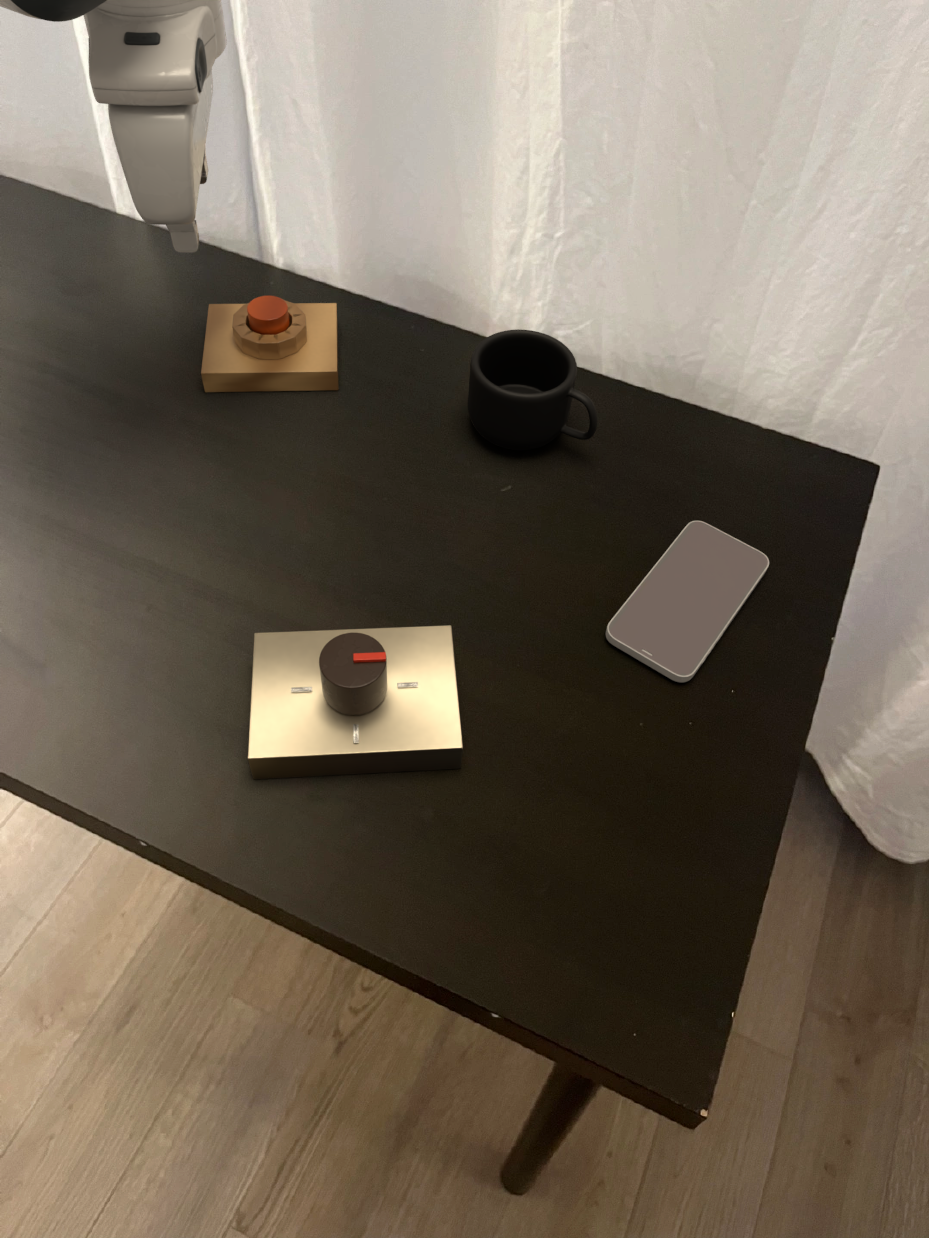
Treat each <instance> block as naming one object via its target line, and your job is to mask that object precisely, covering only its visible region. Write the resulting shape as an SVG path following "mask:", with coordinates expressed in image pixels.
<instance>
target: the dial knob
mask: <svg viewBox="0 0 929 1238" xmlns="http://www.w3.org/2000/svg"><path fill="white" fill-rule="evenodd" d="M319 667H320V675H321V683H322V691H323V696H324V698H325V700H326V702H327V703H328V704H329V705H330V706H331V707H332V708H333V709H334V710H336V711H338V712H340V713H343V714H347V715H361V714H365V713H368V712H370V711H372V710H374V709H375V708H376V707H378V706H379V705H380V704H381V702H382V701H383V700H384V698H385V696H386V693H387V658H386V652H385V650H384V648H383V647H382V645H381V644H380V643H379V642H378V641H377V640H376V639H374V638H373V637H371V636H369V635H366V634H363V633H345V634H341V635H339V636H336V637H335V638H333V639H331V640H330V641H329V642H328V643H327V644H326V645H325V646H324V648H323V649H322V651H321V653H320V657H319Z"/></svg>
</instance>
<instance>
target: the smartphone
mask: <svg viewBox="0 0 929 1238" xmlns="http://www.w3.org/2000/svg"><path fill="white" fill-rule="evenodd" d="M769 565H770V560H769V557H768V556H767V554H765V553H763V552H762V551H760V550H759V549H757V548H756V547H753V546H751V545H749V544H747V543H745V542H744V541H742V540H740V539H738V538H735V537H734V536H732V535H730V534H729V533H726V532H724V531H723V530H721V529H719V528H717V527H715V526H713V525H711V524H709V523H707V522H705V521H702V520H692V521H690V522H688V523H687V524H686V526H684V528H683V529H682V530H681V532H680V533H679V534H678V535H677V536H676V537H675V539H674V540H673V541H672V543H671V544H670V545H669V547H667V549H666V551H664V553H662V556H661V557H660V558H659V559H658V560H657V562H656V563H655V564H654V565H653V567H651V569H650V571H649V572H648V573H647V574H646V575H645V576H644V578H643V579H642V580H641V582H640V583H639V584H638V585H637V586H636V588H635V589H634V590H633V592H632V593H631V594H630V595H629V597H628V598H627V599H626V601H624V602H623V604H622V605H621V606H620V608H619V609H618V610H617V612H616V613H615V614H614V615H613V617H612V618H611V620H610V621H609V622H608V624H607V626H606V630H605V639H606V640H607V641H608V643H609V644H611V645H612V646H614V647H616V648H617V649H619V650H620V651H622V652H624V653H625V654H627V655H629V656H630V657H632V658H634V659H636V660H638V661H639V662H641V663H642V664H644V665H646V666H647V667H648V668H649V667H650V668H651V669H652V670H654V671H656V672H658V673H659V674H661V675H662V676H665V678H666V677H667V678H668V679H670V680H671V681H673V682H677V683H687V682H689V681H690V680H692V679H693V678H694V676H695V675H696V673H697V672H698V670H699V669H700V668H701V666H702V665H703V663H705V661H706V659H707V657H708V656H709V655H710V653H711V652H712V650H713V649H714V648H715V646H716V644H717V643H718V642H719V640H720V639H721V637H723V635H724V633H725V632H726V630H727V629H728V627H729V626H730V625H731V623H732V621H734V618H735V617H736V616H737V614H738V613H739V612H740V610H741V609H742V607H743V605H744V604H745V603H746V601H748V598H749V597H750V595H751V594H752V592H753V591H754V590H755V588H757V585H758V584H759V583H760V581H761V580H762V579H763V577H764V576H765V574H766V572H767V570H768V568H769Z"/></svg>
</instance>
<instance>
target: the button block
mask: <svg viewBox="0 0 929 1238" xmlns="http://www.w3.org/2000/svg"><path fill="white" fill-rule="evenodd" d="M283 300H284V301H285V302H286V303H287V306H288V313H289V322H290V323H289V327H288V328H287V330H286V331H284V332H281V333H279V334H276V335H261V334H258V333H255V332H254V331H252V329H251V328H250V325H249V319H248V312H247V306H248V304H249V303H250V302H247V303H208V309H207V318H206V326H205V336H204V343H203V352H202V360H201V369H200V375H201V380H202V385H203V390H204V393H247V392H249V393H252V392H255V393H256V392H303V391H304V392H305V391H306V392H309V391H312V392H313V391H314V392H315V391H339V320H338V305H337V304H338V303H337V302H327V303H326V302H320V303H319V302H310V303H308V302H307V303H306V302H305V303H302V302H301V303H300V302H299V303H298V302H297V303H295V302H291V301H289V300H285V299H283Z"/></svg>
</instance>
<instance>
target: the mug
mask: <svg viewBox="0 0 929 1238" xmlns="http://www.w3.org/2000/svg"><path fill="white" fill-rule="evenodd" d="M577 376H578V365H577V360H576V358H575V356H574V354H573V352H572V351H571V349H570V348H569V347H568V346H567V345H566V344H564V343H563V342H562V341H561V340H559V339H558V338H556V337H553V336H551V335H550V334H546V333H544V332H540V331H536V330H530V329H507V330H503V331H499V332H495V333H493V334H491V335H489V336H487V337H485V338H484V339H482V340H481V341H480V342H479V343H478V344H477V345H476V347H475V348H474V350H473V351H472V354H471V358H470V365H469V379H468V393H467V395H468V396H467V411H468V416H469V419H470V421H471V423H472V425H473V427H474V429H475V430H476V432H478V433H479V435H480V436H481V437H483V438H484V439H485V440H486V441H487V442H488V443H489V442H490V443H491V444H492V445H495V446H498V447H500V448H503V449H506V450H512V451H529V450H534V449H539V448H542V447H544V446H546V445H547V444H549V443H551V442H552V441H554V440H555V439H556V438H557V437H558V436H559V435H560V434H564V435H565V436H567V437H570V438H573V439H576V440H581V441H587V440H589V439H591V438H592V437H593V436H594V435H595V433H596V431H597V427H598V412H597V408H596V406H595V404H594V402H593V400H592V398H591V397H590V396H588V395H587V394H585V393H584V392H582V391H580V390H578V389H575V386H576V381H577ZM573 399H574V400H576V401H578V402H580V403H581V404H583V405H584V407H585V408H586V411H587V413H588V418H589V419H588V420H589V426H588V430H587V431H582V430H579V429H576V428H573V427H570V426H568V425H567V424H568V421H569V416H570V412H571V407H572V402H573Z"/></svg>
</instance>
